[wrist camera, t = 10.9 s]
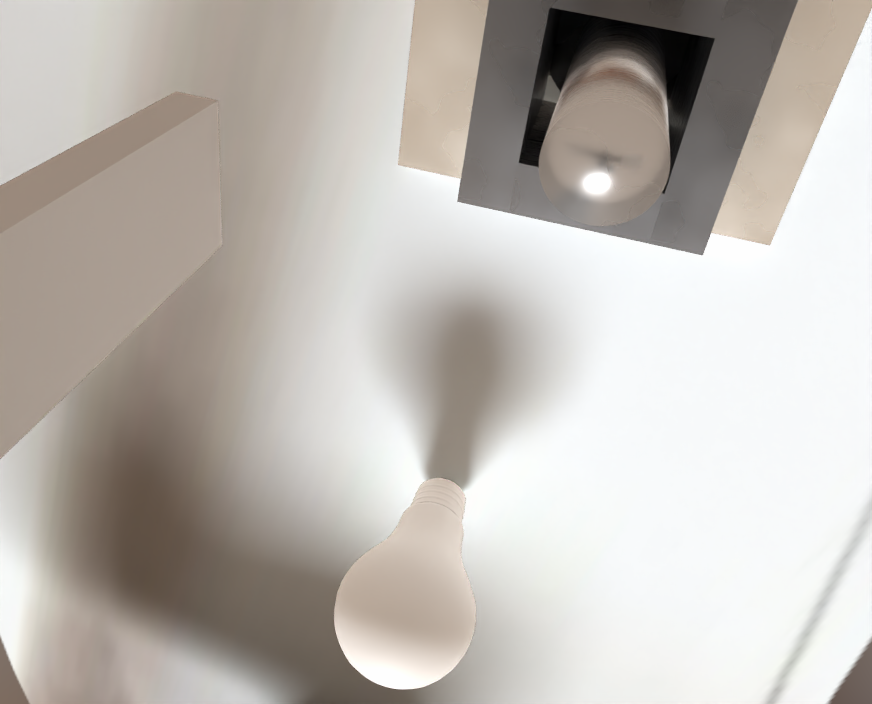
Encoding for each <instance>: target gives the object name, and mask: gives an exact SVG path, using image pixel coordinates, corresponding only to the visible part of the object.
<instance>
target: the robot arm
mask: <svg viewBox="0 0 872 704" xmlns="http://www.w3.org/2000/svg"><path fill="white" fill-rule="evenodd" d="M221 247H222V213H221V180H220V146H219V113H218V100H214V99H209V98H204V97H199V96H194V95H190V94H185V93H180V92H174V93H172V94H170V95H169V96H167V97H165V98H163V99H161V100H159V101H157V102H156V103H154V104H152V105H150V106H148V107H146V108H144V109H143V110H141V111H139V112H137V113H135V114H133V115H131V116H129V117H128V118H126V119H124V120H122V121H120V122H118V123H116V124H115V125H113V126H111V127H109V128H107V129H105V130H103V131H102V132H100V133H98V134H96V135H94V136H92V137H90V138H88V139H87V140H85V141H83V142H81V143H79V144H77V145H75V146H74V147H72V148H70V149H68V150H66V151H64V152H62V153H61V154H59V155H57V156H55V157H53V158H51V159H49V160H47V161H46V162H44V163H42V164H40V165H38V166H36V167H34V168H33V169H31V170H29V171H27V172H25V173H23V174H21V175H20V176H18V177H16V178H14V179H12V180H10V181H8V182H6V183H5V184H3V185H1V186H0V459H1V458H2V457H3V456H4V455H5V454H6V453H7V452H8V451H9V450H10V449H11V448H12V447H13V446H14V445H15V444H17V443H18V442H19V441H20V440H21V439H22V438H23V437H24V436H25V435H26V434H27V433H28V432H29V431H30V430H31V429H32V428H33V427H34V426H35V425H36V424H37V423H38V422H39V421H40V420H42V419H43V418H44V417H45V416H46V415H47V414H48V413H49V412H50V411H51V410H52V409H53V408H54V407H55V406H56V405H57V404H58V403H59V402H60V401H61V400H62V399H63V398H64V397H65V396H66V395H68V394H69V393H70V392H71V391H72V390H73V389H74V388H75V387H76V386H77V385H78V384H79V383H80V382H81V381H82V380H83V379H84V378H85V377H86V376H87V375H88V374H89V373H90V372H91V371H93V370H94V369H95V368H96V367H97V366H98V365H99V364H100V363H101V362H102V361H103V360H104V359H105V358H106V357H107V356H108V355H109V354H110V353H111V352H112V351H113V350H114V349H115V348H116V347H117V346H119V345H120V344H121V343H122V342H123V341H124V340H125V339H126V338H127V337H128V336H129V335H130V334H131V333H132V332H133V331H134V330H135V329H136V328H137V327H138V326H139V325H140V324H141V323H142V322H144V321H145V320H146V319H147V318H148V317H149V316H150V315H151V314H152V313H153V312H154V311H155V310H156V309H157V308H158V307H159V306H160V305H161V304H162V303H163V302H164V301H165V300H166V299H167V298H168V297H170V296H171V295H172V294H173V293H174V292H175V291H176V290H177V289H178V288H179V287H180V286H181V285H182V284H183V283H184V282H185V281H186V280H187V279H188V278H189V277H190V276H191V275H192V274H193V273H194V272H196V271H197V270H198V269H199V268H200V267H201V266H202V265H203V264H204V263H205V262H206V261H207V260H208V259H209V258H210V257H211V256H212V255H213V254H214V253H215V252H216V251H217V250H218V249H219V248H221Z"/></svg>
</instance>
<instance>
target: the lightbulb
mask: <svg viewBox="0 0 872 704" xmlns="http://www.w3.org/2000/svg"><path fill="white" fill-rule="evenodd" d="M465 503H466V498H465V495H464V493H463V491H462V490H461V488H460V487H459V486H458V485H457V484H455V483H454V482H452V481H450V480H447V479H443V478H432V479H429V480H426V481H425V482H423V483H422V484H421V485H420V487H419V488H418V491H417V492H416V495H415V497H414V499H413V502H412V504H411V506H410V507H409V508H408V509H406V510H405V512H404V513H403V515H402V517H401V519H400V521H399V523H398V525H397V527H396V528H395V530H394V531H393V533H392V534H391V535H390V536H389V537H388V538H387V539H386V540H384V541H383V542H381V543H379V544H378V545H376V546H375V547H373V548H372V549H370V550H369V551H368V552H366V553H365V554H364V555H362V556H361V557H360V558H359V559H358V560H357V561H356V562H355V563H354V564H353V565H352V566H351V568H350V569H349V570H348V572H347V573H346V574H345V576H344V578H343V580H342V582H341V584H340V587H339V589H338V591H337V596H336V602H335V608H334V624H335V631H336V635H337V638H338V641H339V644H340V646H341V649H342V651H343V652H344V654H345V656H346V658H347V659H348V661H349V662H350V664H351V665H352V666H353V667H354V668H355V669H356V670H357V671H359V672H360V673H361V674H362V675H363V676H365V677H366V678H367V679H369V680H371V681H372V682H375V683H377V684H379V685H382V686H385V687H388V688H393V689H416V688H421V687H425V686H427V685H430V684H432V683H434V682H436V681H438V680H440V679H441V678H442V677H444V676H445V675H447V674H448V673H449V672H450V671H452V670H453V669H454V668H455V667H456V665H457V664H458V663H459V662H460V660H461V659H462V658H463V656H464V655H465V653H466V651H467V649H468V647H469V645H470V643H471V640H472V637H473V634H474V630H475V625H476V604H475V599H474V595H473V591H472V588H471V585H470V582H469V578H468V576H467V574H466V571H465V569H464V566H463V562H462V557H461V546H462V541H463V535H464V530H463V525H462V520H463V515H464V510H465Z"/></svg>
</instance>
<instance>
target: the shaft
mask: <svg viewBox="0 0 872 704" xmlns="http://www.w3.org/2000/svg"><path fill="white" fill-rule="evenodd" d="M488 3H489V0H415V8H414V17H413V27H412V36H411V46H410V55H409V65H408V74H407V84H406V93H405V103H404V112H403V122H402V131H401V141H400V150H399V160H398V165H400V166H405V167H410V168H414V169H419V170H424V171H428V172H433V173H438V174H442V175H447V176H451V177H456V178H461V175H462V169H463V163H464V156H465V150H466V143H467V137H468V131H469V124H470V118H471V111H472V105H473V99H474V92H475V86H476V79H477V73H478V67H479V60H480V54H481V47H482V41H483V35H484V28H485V22H486V15H487V9H488ZM871 8H872V0H798V2H797V4H796V7H795V10H794V12H793V15H792V18H791V20H790V23H789V26H788V28H787V31H786V34H785V36H784V39H783V42H782V44H781V47H780V50H779V52H778V55H777V58H776V60H775V63H774V66H773V68H772V71H771V74H770V76H769V79H768V82H767V84H766V87H765V90H764V92H763V95H762V98H761V100H760V103H759V106H758V108H757V111H756V114H755V116H754V119H753V122H752V125H751V127H750V130H749V133H748V135H747V138H746V141H745V143H744V146H743V149H742V151H741V154H740V157H739V159H738V162H737V165H736V167H735V170H734V173H733V175H732V178H731V181H730V183H729V186H728V189H727V191H726V194H725V197H724V199H723V202H722V205H721V207H720V210H719V213H718V215H717V218H716V221H715V223H714V226H713V229H712V231H711V233H715V234H720V235H724V236H729V237H734V238H738V239H743V240H748V241H752V242H757V243H761V244H766V245H770V244H771V241H772V239H773V237H774V234H775V232H776V230H777V227H778V225H779V223H780V220H781V218H782V216H783V213H784V211H785V209H786V206H787V204H788V202H789V199H790V197H791V195H792V192H793V190H794V188H795V185H796V183H797V181H798V178H799V176H800V174H801V171H802V169H803V167H804V164H805V162H806V160H807V158H808V155H809V153H810V151H811V148H812V146H813V144H814V141H815V139H816V137H817V134H818V132H819V130H820V127H821V125H822V123H823V120H824V118H825V116H826V113H827V111H828V109H829V106H830V104H831V102H832V99H833V97H834V95H835V92H836V90H837V88H838V85H839V83H840V81H841V78H842V76H843V74H844V71H845V69H846V67H847V64H848V62H849V60H850V57H851V55H852V53H853V50H854V48H855V46H856V43H857V41H858V39H859V36H860V34H861V32H862V29H863V27H864V25H865V22H866V20H867V18H868V15H869V13H870V11H871ZM689 35H690V34H688V33H683V32H678V31H672V30H667V29H662V28H656V27H651V26H646V25H640V24H635V23H630V22H624V21H619V20H614V19H608V18H603V17H598V16H592V15H587V14H582V13H576V12H571V11H566V10H562V14H561V19H560V23H559V28H558V33H557V38H556V43H555V47H554V52H553V57H552V62H551V66H550V71H549V76H548V81H547V86H546V90H545V95H544V100H545V101H550V102H555V103H557V104H556V107H555V110H554V113H553V116H552V118H551V121H550V124H549V127H548V130H547V133H546V136H545V139H544V142H543V145H542V148H541V151H540V156H539V177H540V181H541V184H542V187H543V189H544V192H545V194H546V195H547V197H548V199H549V200H550V201H551V203H552V204H553V205H554V206H555V207H556V208H557V209H558V210H559V211H560V212H562V213H563V214H564V215H566V216H567V217H569V218H571V219H573V220H575V221H577V222H580V223H583V224H587V225H593V226H612V225H617V224H621V223H624V222H628V221H630V220H632V219H634V218H636V217H638V216H639V215H641V214H643V213H644V212H645V211H646V210H648V209H649V208H650V207H651V206H652V205H653V204H654V203H655V202H656V200H657V199H658V198H659V196H660V195H661V193H662V191H663V190H664V188H665V185H666V183H667V180H668V176H669V172H670V144H669V124H668V104H669V101H670V98H671V94H672V91H673V88H674V84H675V81H676V78H677V75H678V71H679V68H680V65H681V62H682V58H683V55H684V52H685V48H686V45H687V42H688V39H689Z"/></svg>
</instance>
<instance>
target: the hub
mask: <svg viewBox="0 0 872 704" xmlns="http://www.w3.org/2000/svg"><path fill="white" fill-rule="evenodd" d="M797 2H798V0H489V3H488V9H487V15H486V22H485V28H484V35H483V41H482V47H481V54H480V60H479V67H478V73H477V79H476V86H475V92H474V99H473V105H472V111H471V118H470V124H469V131H468V137H467V143H466V150H465V156H464V163H463V169H462V175H461V182H460V188H459V195H458V201H457V202H462V203H466V204H471V205H475V206H480V207H484V208H489V209H494V210H498V211H503V212H507V213H512V214H516V215H521V216H526V217H530V218H535V219H539V220H544V221H548V222H553V223H558V224H562V225H567V226H571V227H576V228H580V229H585V230H590V231H594V232H599V233H603V234H608V235H612V236H617V237H622V238H626V239H631V240H635V241H640V242H644V243H649V244H654V245H658V246H663V247H667V248H672V249H676V250H681V251H686V252H690V253H695V254H699V255H703V253H704V250H705V247H706V245H707V242H708V239H709V237H710V234H711V231H712V229H713V226H714V223H715V221H716V218H717V215H718V213H719V210H720V207H721V205H722V202H723V199H724V197H725V194H726V191H727V189H728V186H729V183H730V181H731V178H732V175H733V173H734V170H735V167H736V165H737V162H738V159H739V157H740V154H741V151H742V149H743V146H744V143H745V141H746V138H747V135H748V133H749V130H750V127H751V125H752V122H753V119H754V116H755V114H756V111H757V108H758V106H759V103H760V100H761V98H762V95H763V92H764V90H765V87H766V84H767V82H768V79H769V76H770V74H771V71H772V68H773V66H774V63H775V60H776V58H777V55H778V52H779V50H780V47H781V44H782V42H783V39H784V36H785V34H786V31H787V28H788V26H789V23H790V20H791V18H792V15H793V12H794V10H795V7H796V4H797ZM562 10H566V11H571V12H576V13H582V14H587V15H592V16H598V17H603V18H608V19H614V20H619V21H624V22H630V23H635V24H640V25H646V26H651V27H656V28H662V29H667V30H672V31H678V32H683V33H688V34H690V35H689V39H688V42H687V45H686V48H685V52H684V55H683V58H682V62H681V65H680V68H679V71H678V75H677V78H676V81H675V84H674V88H673V91H672V94H671V98H670V101H669V104H668V124H669V144H670V172H669V176H668V180H667V183H666V185H665V188H664V190H663V191H662V193H661V195H660V196H659V198H658V199H657V200H656V202H655V203H654V204H653V205H652V206H651V207H650V208H649V209H648V210H646V211H645V212H644V213H643V214H641V215H639V216H638V217H636V218H634V219H632V220H630V221H628V222H624V223H621V224H617V225H612V226H593V225H587V224H583V223H580V222H577V221H575V220H573V219H571V218H569V217H567V216H566V215H564V214H563V213H562V212H560V211H559V210H558V209H557V208H556V207H555V206H554V205H553V204H552V203H551V201H550V200H549V199H548V197H547V195H546V194H545V192H544V189H543V187H542V184H541V181H540V177H539V156H540V151H541V148H542V145H543V142H544V139H545V136H546V133H547V130H548V127H549V124H550V121H551V118H552V116H553V113H554V110H555V107H556V104H557V103H555V102H550V101H545V100H544V95H545V90H546V86H547V81H548V76H549V71H550V66H551V62H552V57H553V52H554V47H555V43H556V38H557V33H558V28H559V23H560V19H561V14H562Z"/></svg>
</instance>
